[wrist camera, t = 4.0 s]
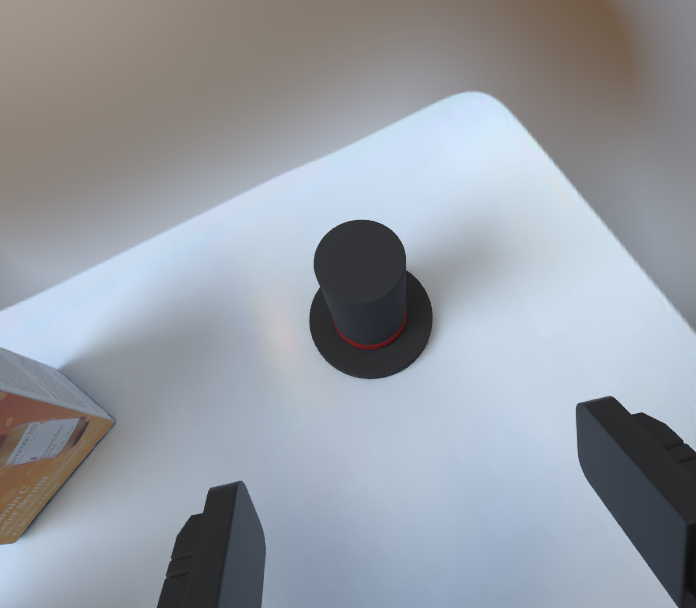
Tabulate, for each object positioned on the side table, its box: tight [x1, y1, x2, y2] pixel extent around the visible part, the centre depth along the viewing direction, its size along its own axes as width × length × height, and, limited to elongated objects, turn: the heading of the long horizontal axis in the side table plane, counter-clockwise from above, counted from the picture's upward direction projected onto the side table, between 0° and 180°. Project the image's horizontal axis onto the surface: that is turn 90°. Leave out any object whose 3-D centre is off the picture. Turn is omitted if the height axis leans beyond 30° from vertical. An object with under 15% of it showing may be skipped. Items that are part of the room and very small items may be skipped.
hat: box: [309, 220, 432, 379], centre depth 26 cm, size 7×7×8 cm
